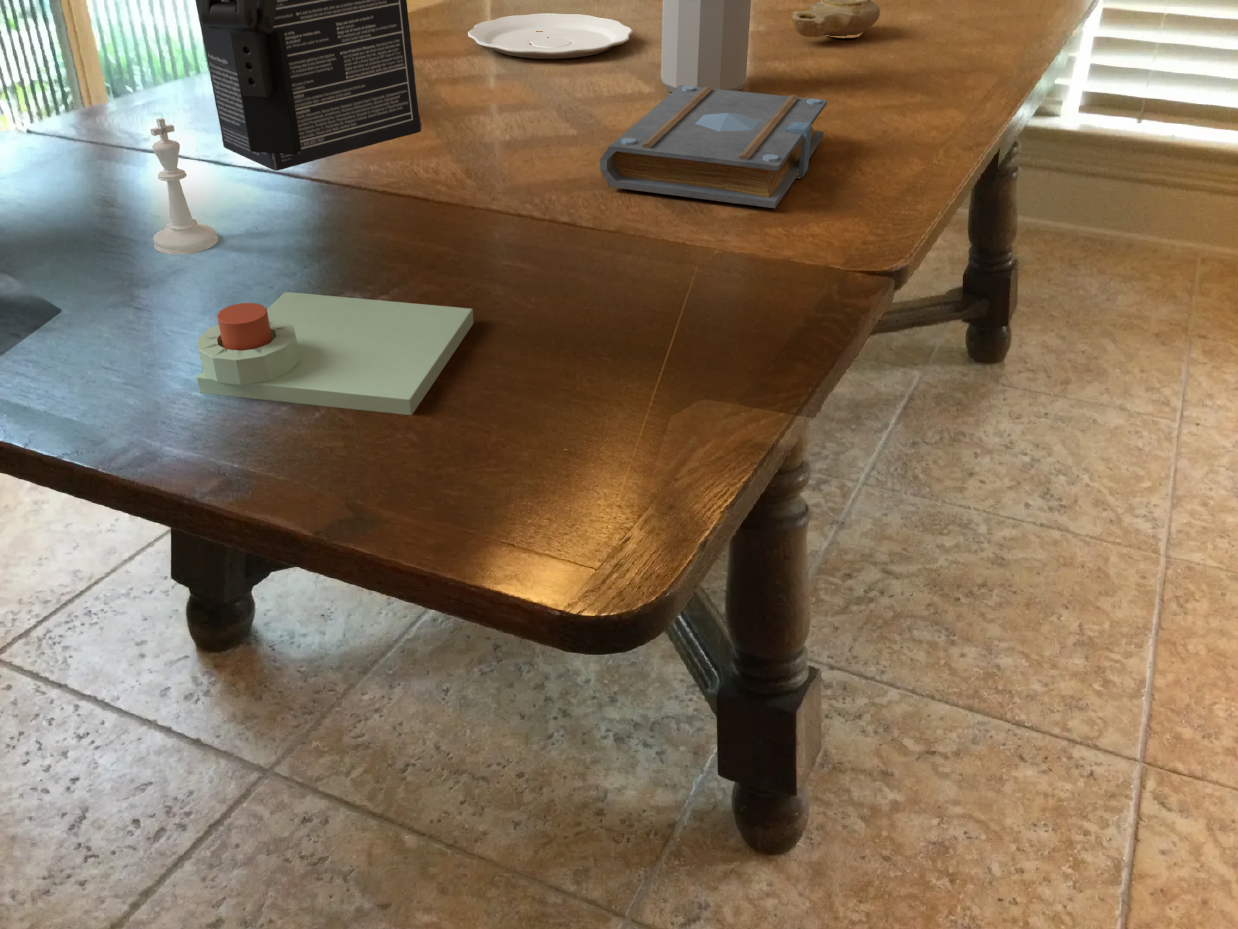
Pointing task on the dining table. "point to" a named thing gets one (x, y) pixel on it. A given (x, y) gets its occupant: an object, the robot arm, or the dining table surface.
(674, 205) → the dining table surface
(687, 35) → the jar
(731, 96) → the book
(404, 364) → the pale green flat block
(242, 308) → the button
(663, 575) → the dining table surface
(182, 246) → the chess piece
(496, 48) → the plate
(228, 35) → the small box
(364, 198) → the dining table surface
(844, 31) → the oil lamp
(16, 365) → the dining table surface
